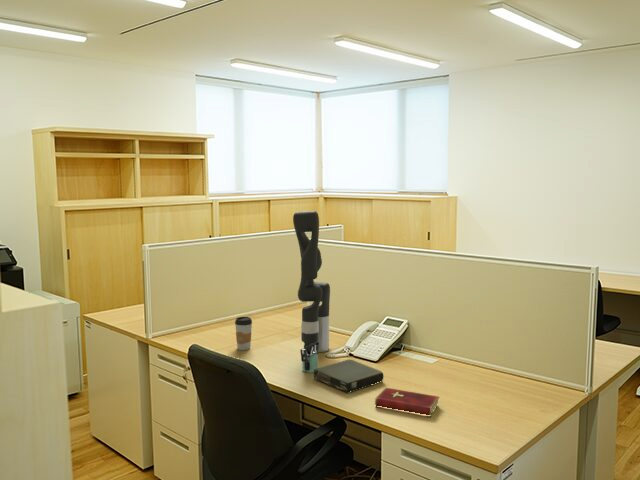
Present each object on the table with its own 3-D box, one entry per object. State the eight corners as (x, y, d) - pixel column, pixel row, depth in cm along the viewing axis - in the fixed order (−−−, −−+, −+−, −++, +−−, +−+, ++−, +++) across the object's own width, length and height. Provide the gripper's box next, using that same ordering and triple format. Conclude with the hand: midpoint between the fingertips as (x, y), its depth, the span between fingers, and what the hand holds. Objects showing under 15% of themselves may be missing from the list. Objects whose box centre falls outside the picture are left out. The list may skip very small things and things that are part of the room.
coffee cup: (232, 349, 281) (231, 319, 279) (240, 345, 288) (240, 315, 287) (247, 351, 278) (246, 321, 276) (255, 347, 285) (255, 317, 283)
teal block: (307, 367, 256) (307, 352, 255) (317, 369, 254) (317, 353, 253) (302, 371, 252) (302, 355, 251) (312, 372, 249) (312, 357, 249)
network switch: (308, 381, 240) (308, 370, 239) (345, 367, 257) (345, 357, 256) (351, 396, 224) (352, 384, 224) (387, 381, 241) (388, 369, 241)
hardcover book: (430, 419, 205) (431, 407, 204) (375, 408, 214) (375, 397, 213) (439, 406, 215) (439, 395, 215) (385, 397, 224) (385, 386, 224)
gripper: (309, 325, 259) (309, 362, 261) (294, 333, 246) (294, 372, 248) (324, 327, 255) (324, 364, 257) (310, 335, 243) (310, 374, 245)
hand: (309, 368), depth 253 cm, fingers closed on teal block, 5 cm apart
